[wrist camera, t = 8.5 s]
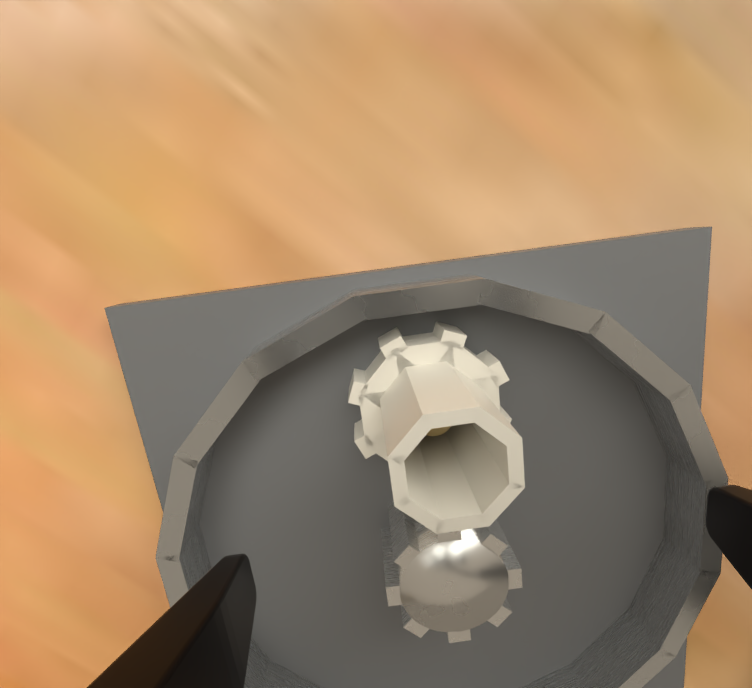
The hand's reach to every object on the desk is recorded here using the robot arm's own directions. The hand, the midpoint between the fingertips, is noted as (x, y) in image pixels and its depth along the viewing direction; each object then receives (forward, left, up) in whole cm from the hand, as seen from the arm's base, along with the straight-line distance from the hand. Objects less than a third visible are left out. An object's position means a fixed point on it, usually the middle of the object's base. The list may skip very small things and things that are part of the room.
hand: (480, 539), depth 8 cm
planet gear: (0, 0, -8) cm, 8 cm away
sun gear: (0, +6, -9) cm, 11 cm away
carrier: (0, +6, -9) cm, 11 cm away
